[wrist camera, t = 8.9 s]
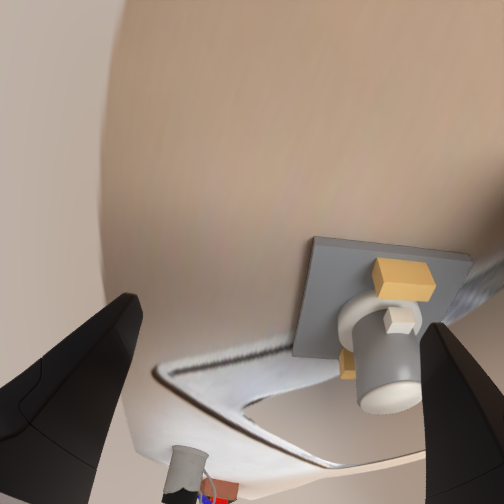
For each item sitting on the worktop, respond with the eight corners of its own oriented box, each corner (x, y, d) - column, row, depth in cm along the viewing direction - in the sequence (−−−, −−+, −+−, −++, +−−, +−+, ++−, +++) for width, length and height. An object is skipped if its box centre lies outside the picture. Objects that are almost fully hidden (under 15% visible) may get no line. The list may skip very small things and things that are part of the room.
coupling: (393, 355, 24) (403, 419, 19) (341, 354, 25) (344, 421, 20) (426, 300, 20) (448, 372, 15) (365, 296, 20) (378, 375, 15)
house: (240, 483, 84) (235, 511, 75) (228, 488, 96) (224, 512, 87) (206, 476, 83) (200, 505, 74) (199, 482, 95) (194, 506, 86)
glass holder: (185, 444, 56) (171, 504, 45) (233, 462, 62) (224, 516, 50) (165, 446, 61) (151, 499, 49) (211, 463, 66) (201, 512, 54)
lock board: (469, 254, 20) (486, 284, 17) (413, 352, 28) (419, 380, 25) (314, 236, 21) (316, 269, 18) (292, 347, 29) (290, 378, 26)
